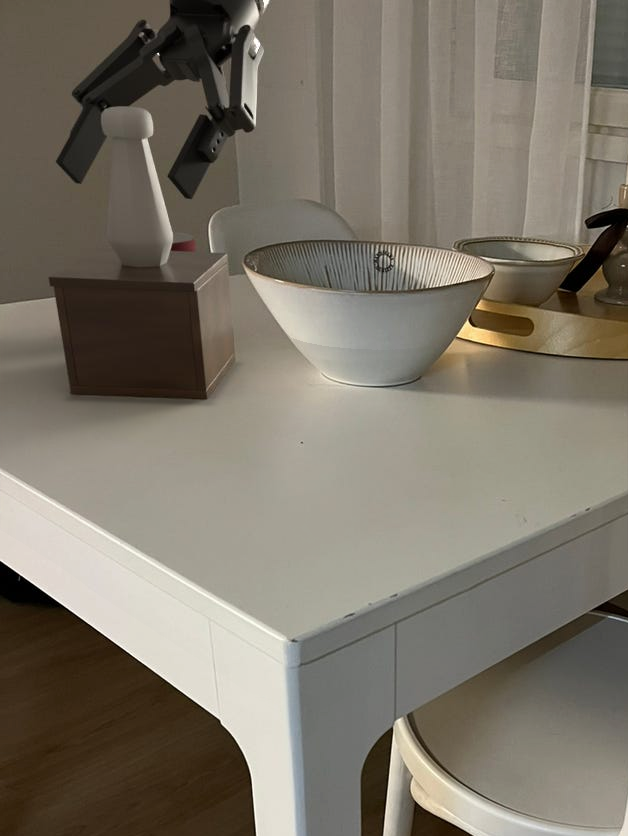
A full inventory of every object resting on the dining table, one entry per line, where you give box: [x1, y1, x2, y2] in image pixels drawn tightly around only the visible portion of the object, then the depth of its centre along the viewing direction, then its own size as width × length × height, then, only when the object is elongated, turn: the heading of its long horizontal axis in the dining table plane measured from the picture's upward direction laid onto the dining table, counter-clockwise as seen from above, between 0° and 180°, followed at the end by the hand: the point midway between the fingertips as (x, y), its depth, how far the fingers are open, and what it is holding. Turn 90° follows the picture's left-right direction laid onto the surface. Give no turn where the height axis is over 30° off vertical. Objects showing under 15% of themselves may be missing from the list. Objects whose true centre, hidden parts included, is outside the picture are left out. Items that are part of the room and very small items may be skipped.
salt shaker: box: [101, 106, 173, 268], centre depth 93 cm, size 6×6×13 cm
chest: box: [53, 261, 236, 400], centre depth 99 cm, size 14×13×10 cm
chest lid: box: [48, 247, 229, 292], centre depth 96 cm, size 14×13×1 cm
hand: (122, 180), depth 91 cm, fingers open, 13 cm apart
